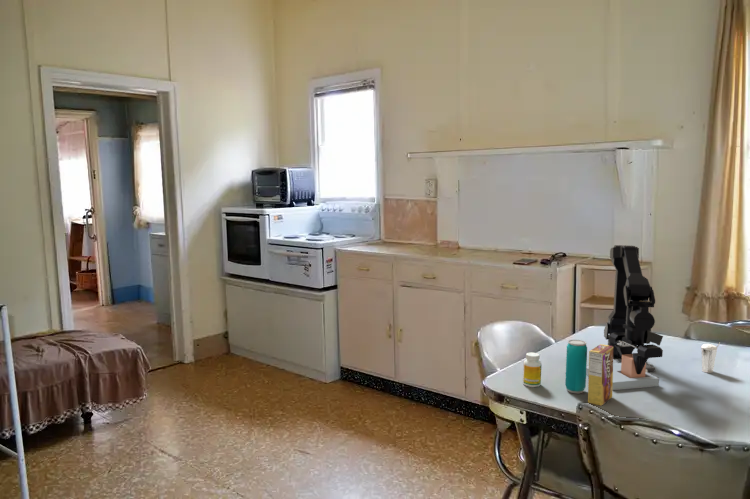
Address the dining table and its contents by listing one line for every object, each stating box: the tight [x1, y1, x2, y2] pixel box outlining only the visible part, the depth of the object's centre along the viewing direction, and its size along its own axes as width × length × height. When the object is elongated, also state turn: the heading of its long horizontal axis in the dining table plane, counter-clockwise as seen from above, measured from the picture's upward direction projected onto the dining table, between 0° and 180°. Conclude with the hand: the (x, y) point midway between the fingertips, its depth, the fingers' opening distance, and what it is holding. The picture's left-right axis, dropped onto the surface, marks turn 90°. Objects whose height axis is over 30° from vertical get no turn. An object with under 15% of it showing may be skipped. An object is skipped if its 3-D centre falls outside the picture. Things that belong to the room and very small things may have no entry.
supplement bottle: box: [522, 351, 542, 388], centre depth 186 cm, size 5×5×10 cm
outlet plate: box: [586, 362, 660, 391], centre depth 191 cm, size 16×16×2 cm
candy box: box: [587, 343, 614, 407], centre depth 173 cm, size 9×4×15 cm, turn 140°
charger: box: [620, 354, 647, 378], centre depth 189 cm, size 5×5×6 cm
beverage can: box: [564, 339, 588, 395], centre depth 180 cm, size 6×6×15 cm
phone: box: [620, 359, 656, 373], centre depth 203 cm, size 10×6×1 cm, turn 13°
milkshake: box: [700, 342, 721, 374], centre depth 198 cm, size 4×5×10 cm
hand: (633, 371), depth 189 cm, fingers closed on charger, 5 cm apart
